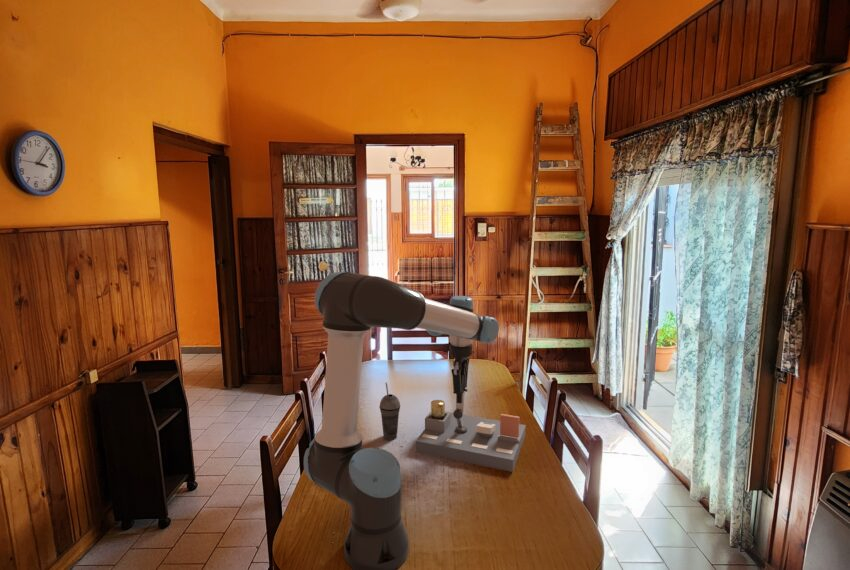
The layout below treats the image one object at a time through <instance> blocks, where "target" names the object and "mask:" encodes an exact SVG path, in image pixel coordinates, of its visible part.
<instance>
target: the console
mask: <svg viewBox="0 0 850 570" xmlns="http://www.w3.org/2000/svg"><path fill="white" fill-rule="evenodd" d="M462 421H463V428H462V429H461V428H458V424H457V420H456V418H455V417H454V415H453V412H452V411H450V412H449V411H445V418H444V419H443V420H438V419H432V418H431V411H429V413H428V414H427V415H426V416H425V418H424V430H423V431H422V432H421V433H420V435H418V437H417V438H416V440H415V453H418V454H423V455H428V456H434V457H439V458H443V459H447V460H448V459H449V460H452V461H458V462H462V463H467V464H471V465H477V466H482V467H486V468H491V469H497V470H501V471H506V472H510V473H513V472H514V469H515V467H516V464H517V460H518V458H519V456H520V455H519V454H520V451H521V449H522V446H523V443H524V441H525V437H526V430H527V429H526V427H527V425H526V424H521V423H519V437H518V438H515V437H509V436H504V435H500V420H497V419H491V418H485V417H481V416H473V415H467V414H463V416H462ZM480 422H485V423H491V424H495V431H494V432H493V433H492V434H485V433H480V432H476V425H478V424H479V423H480Z"/></svg>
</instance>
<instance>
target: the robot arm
mask: <svg viewBox="0 0 850 570" xmlns="http://www.w3.org/2000/svg"><path fill="white" fill-rule="evenodd" d="M314 306H315V308H316V309H317V311H318V313H319V314H321V316H322V328H323V330H324V331H325V332H326V333H327V335H328V336H327V347H326V348H327V350H326V362H325V364H326V365H325V379H324V389H323V392H324V393H323V405H322V407H323V408H322V419H321V429H320V430H319V431H317V432H316V433H315V434H314V438H313V439H312V440H311V441H310V443H309V444H308V445H309V447H308V448H306V450H305V452H304V456H303V470H304V473H305V474H306V476H307V478H308V479H309V480H310V481H311V482H313V483H314V485H315V486H317V487H318V488H321V489H322V490H325V491H327V492H329V493H330V494H332V495H334V496H335V497H336V498H337V499H340V500H341V501H343V502H345V503H346V504H348V505H349V506H350V525H349V527H348V531H347V534H346V537H345V541H344V546H343V547H344V548H343V549H344V550H343V551H344V559H345V561H346V563H347V564H348V566H349V567H350V568H351V569H352V570H397V569H398V568H399V567H401V566H402V565H403V564H404V562H405V561H406V560H407V558H408V556H409V552H410V540H409V536H408V533H407V531H406V527H405V525H404V522H403V519H402V481H403V480H402V478H403V477H402V472H401V465H400V462H399V460H398V459H397V457H396V456H395V455H394V454H393V453H391V451H388V450H386V449H384V448H376V449H375V448H374V447H366V448H363V447H362V445H363V434H362V433H361V432H360V431H359V430H358V418H359V406H360V392H361V391H360V390H361V381H362V379H361V377H362V364H363V356H364V355H363V354H364V353H363V351H364V338H365V336H366V334H368V333H369V332H370V331H371V329H372V327H374V328H387V329H398V330H399V329H400V330H406V331H412V330H415V329H421V330H425V331H426V332H427V333H428V334H429V335H430V336H433V337H437V336H442V335H448V336H449V337H448V338H449V340H448V341H449V343H450V344H449V351H448V352H449V355H450V356H451V357H453V358H454V361H453V364H452V365H453V368H451V371H450V372H451V375H452V376H451V377H452V387H453V389H452V390H453V391H452V393H453V394H455V410H456V409H460V410H461V411H462V412H463V413H464V412H465V407H466V406H465V405H466V403H465V402H466V401H465V400H466V392H468V388H467V387H468V378H469V377H468V376H469V364H470V358H469V357H471V356H472V355H473V347H474V346H473V341H476V342H479V343H482V344H483V343H486V344H492V343H494V342H495V341H496V339H497V337H498V335H499V331H500V326H499V322H498V320H497V319H496V318H495V317H491V316H489V315H482V314H478V313H474V300H473V299H472V297H470V296H466V295H455V296H451V298H450V299H449V304H445V303H443V302H439V301H436V300H432V299H430V298H426V297H424V295H423V294H422V293H421V292H419V291H417V290H414V289H413V288H410V287H406V286H405V285H402V284H399V283H397V282H395V281H392V280H391V279H387V278H385V277H383V276H382V277H381V276H375V275H367V274H361V273H355V272H351V271H335V272H331V273H330V274H328V275H327V276H325V277H324V279H322V280H321V281H320V282H319V283H318V285H317V287H316V289H315V294H314Z"/></svg>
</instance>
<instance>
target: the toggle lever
mask: <svg viewBox="0 0 850 570" xmlns="http://www.w3.org/2000/svg"><path fill="white" fill-rule="evenodd" d="M452 413H453V415H454V417H455V418H456V420H457V424H458V428H461V429H462V428H463V421H462V416H463V415H464V412H462V411H461V410H460V409H456V408H455V409H454V411H453V412H452Z"/></svg>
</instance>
